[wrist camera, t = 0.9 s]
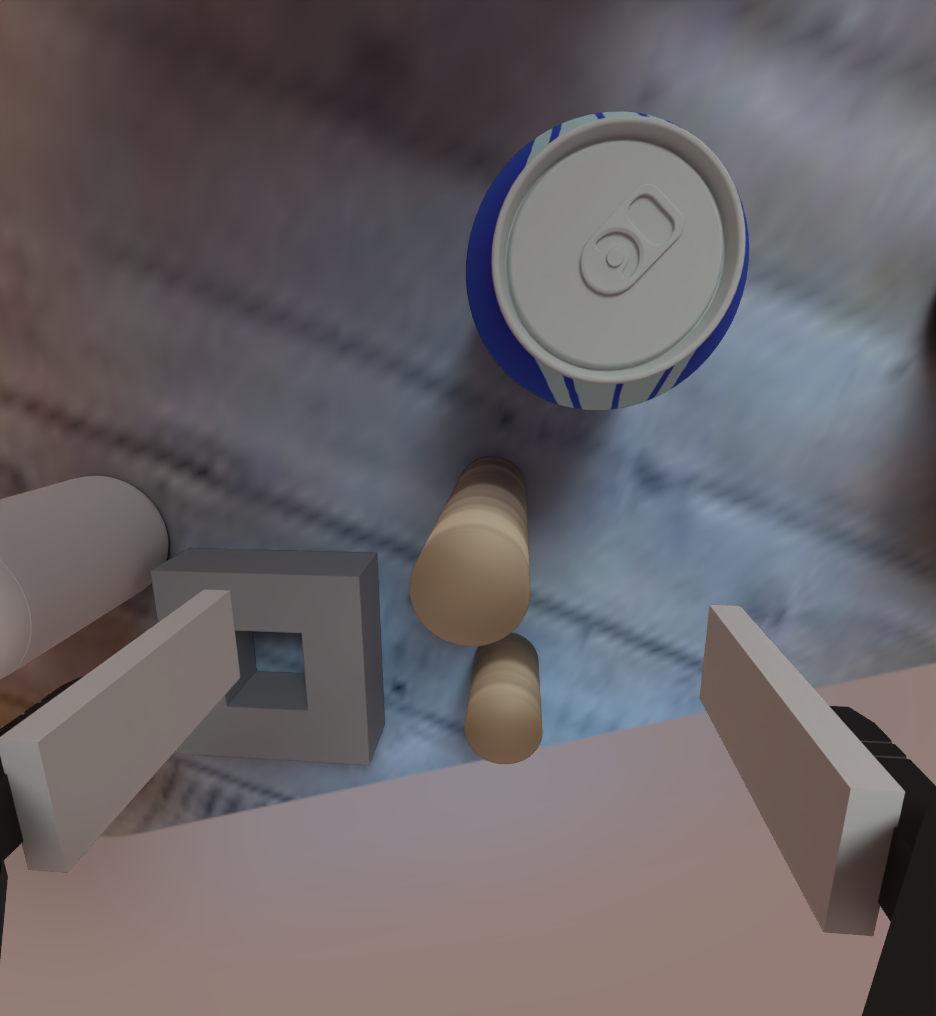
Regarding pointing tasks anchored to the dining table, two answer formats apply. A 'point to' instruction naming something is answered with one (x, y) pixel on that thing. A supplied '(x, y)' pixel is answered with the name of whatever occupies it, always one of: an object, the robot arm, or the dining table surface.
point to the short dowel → (505, 701)
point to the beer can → (607, 260)
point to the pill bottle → (71, 560)
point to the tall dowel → (476, 558)
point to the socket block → (326, 648)
